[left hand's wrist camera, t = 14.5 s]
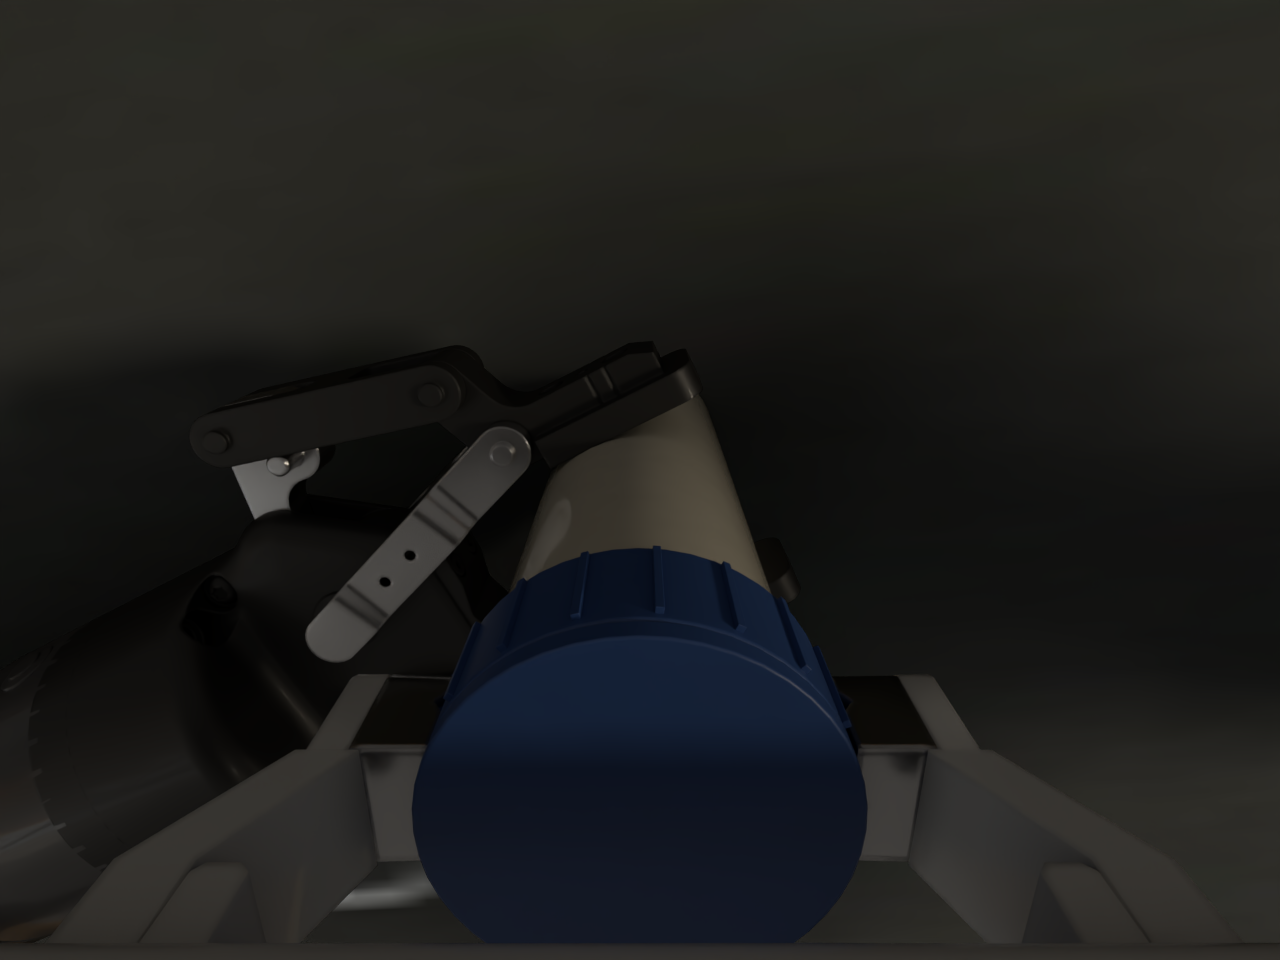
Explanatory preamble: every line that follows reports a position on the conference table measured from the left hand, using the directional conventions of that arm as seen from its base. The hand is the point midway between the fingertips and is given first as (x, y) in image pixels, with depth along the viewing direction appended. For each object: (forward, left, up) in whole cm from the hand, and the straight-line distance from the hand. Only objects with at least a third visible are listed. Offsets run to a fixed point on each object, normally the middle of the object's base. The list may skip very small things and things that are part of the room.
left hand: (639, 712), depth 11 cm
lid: (0, 0, +2) cm, 2 cm away
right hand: (-2, -2, -7) cm, 8 cm away
